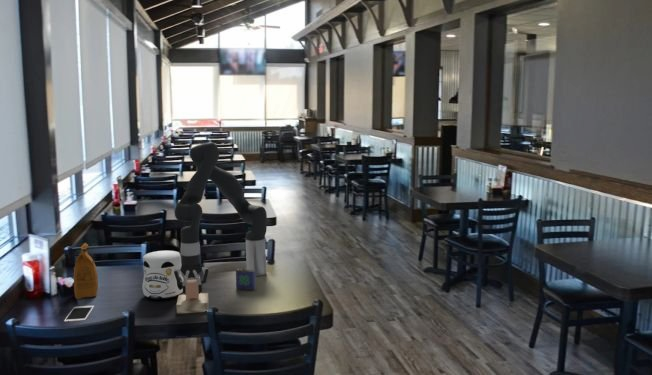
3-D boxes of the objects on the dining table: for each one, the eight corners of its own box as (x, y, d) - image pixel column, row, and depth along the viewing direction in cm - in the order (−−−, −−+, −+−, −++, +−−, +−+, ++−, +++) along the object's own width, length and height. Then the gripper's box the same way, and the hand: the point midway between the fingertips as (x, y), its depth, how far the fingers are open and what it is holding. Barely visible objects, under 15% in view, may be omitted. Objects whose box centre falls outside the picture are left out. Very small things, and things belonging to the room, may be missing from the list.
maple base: (208, 302, 243) (208, 292, 242) (207, 312, 231) (207, 302, 230) (179, 304, 241) (178, 294, 240) (176, 314, 229) (176, 305, 228)
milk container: (147, 305, 238) (144, 262, 236) (139, 293, 254) (137, 253, 251) (189, 298, 246) (187, 257, 244) (179, 286, 261) (177, 248, 259)
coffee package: (101, 289, 259) (97, 241, 256) (97, 298, 247) (94, 248, 244) (77, 291, 257) (73, 242, 253) (72, 300, 245) (68, 249, 241)
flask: (256, 289, 257) (256, 265, 255) (254, 291, 254) (253, 267, 253) (237, 287, 260) (236, 264, 258) (234, 289, 257) (233, 266, 255)
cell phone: (94, 306, 239) (94, 305, 238) (85, 321, 223) (85, 319, 223) (74, 308, 237) (74, 306, 237) (63, 322, 222) (63, 321, 221)
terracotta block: (199, 293, 238) (198, 279, 237) (198, 297, 233) (198, 283, 232) (186, 294, 237) (186, 280, 236) (186, 298, 232) (185, 283, 231)
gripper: (209, 249, 237) (210, 289, 240) (172, 251, 235) (175, 291, 237) (208, 254, 230) (210, 295, 232) (171, 256, 227) (173, 297, 230)
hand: (192, 293), depth 235 cm, fingers closed on terracotta block, 4 cm apart
